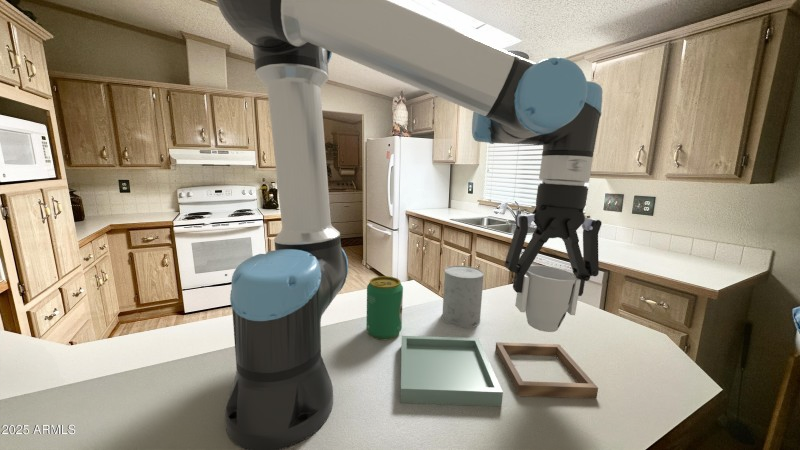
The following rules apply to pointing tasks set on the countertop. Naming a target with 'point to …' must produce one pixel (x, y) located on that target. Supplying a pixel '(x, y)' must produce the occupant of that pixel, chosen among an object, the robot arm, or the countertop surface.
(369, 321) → the beverage can
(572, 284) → the cup
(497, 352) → the frame
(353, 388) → the countertop surface
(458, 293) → the grey stone cylinder
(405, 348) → the tray
